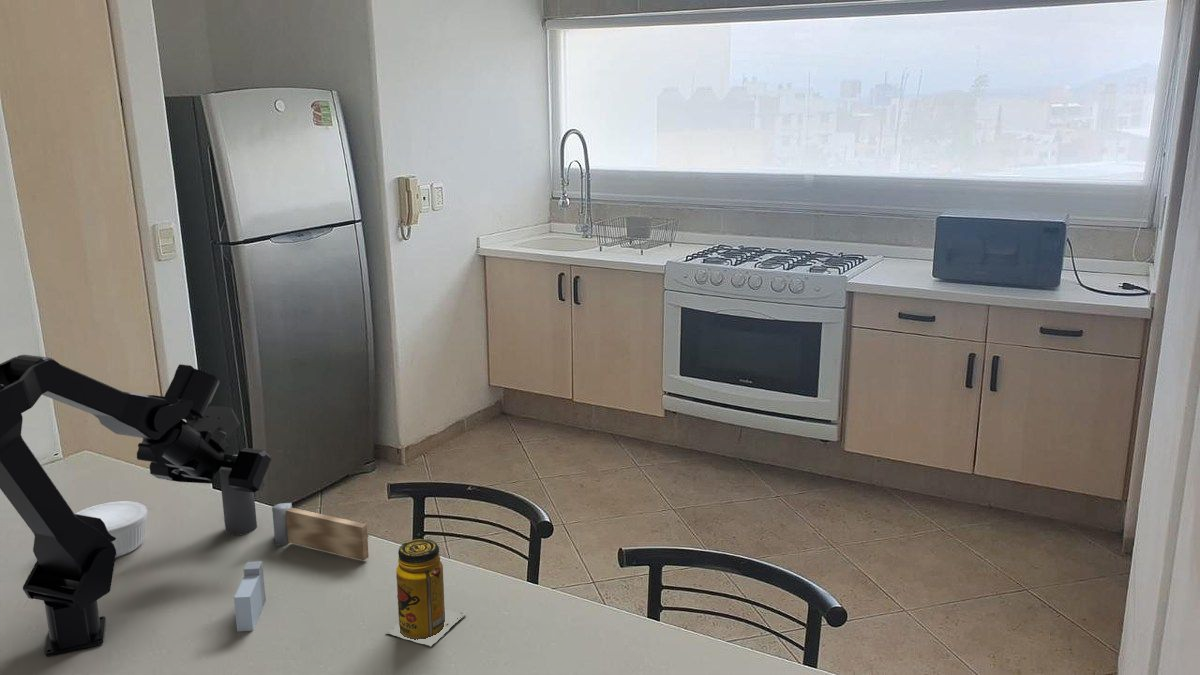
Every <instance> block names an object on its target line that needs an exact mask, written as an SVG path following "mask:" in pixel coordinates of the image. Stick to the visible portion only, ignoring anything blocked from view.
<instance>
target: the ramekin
mask: <svg viewBox="0 0 1200 675" xmlns="http://www.w3.org/2000/svg"><path fill="white" fill-rule="evenodd" d="M75 514H78V515H84V516H89V517H95V518H100V519H101V520H102V521H103V522H104V523H105V526H106V528H107V531H108V532H109V534H110V535H111V536H113V537H115V538H116V540H114V541H112V543H113V544H114V546H115V548H116V556H115V558H119V557H121V556H125V555H127V554H129V553H131V552H133V551H134V550H136V549H137V548H139V547H140V546H141V544H142V543H143V542H144V540H145V537H146V526H147V518H148V507H146V506H145V505H144V504H142V503H140V502H136V501H130V500H127V501H126V500H122V501H121V500H120V501H112V502H111V501H110V502H105V503H100V504H96V505H93V506H90V507H87V508H84V509H82V510H80V511H78V512H76V513H75Z"/></svg>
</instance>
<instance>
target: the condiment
mask: <svg viewBox="0 0 1200 675" xmlns="http://www.w3.org/2000/svg"><path fill="white" fill-rule="evenodd" d="M397 552H398V553H397V554H398V559H397V560H398V561H397V562H398V565H397V566H396V571H395V572H396V576H395V577H396V590H397V593H396V594H397V595H396V597H397V610H398V611H397V612H398V615H397V616H398V623H399V627H400V633H401V634H402V635H403V636H404V637H407V638H410V639H414V640H416V639H417V640H418V639H426V638H428V637H431V636H433V635H436V634H437V633H439V632H440V631H441V630H442V629H443V627H444V622H445V609H446V607H445V588H444V587H445V586H444V565H443V563H442V562H441V556H440V547H439V545H438V544H437V542H435V541H434V540H431V539H428V538H427V539H426V538H417V539H411V540H408V541H406V542H403V543H402V544H401V545H400V546H399V549H398V551H397ZM466 615H467V613H466V614H465V616H466ZM465 616H463V615H462V619H463V618H464V617H465ZM460 618H461V617H460ZM457 619H458V618H457Z"/></svg>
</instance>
